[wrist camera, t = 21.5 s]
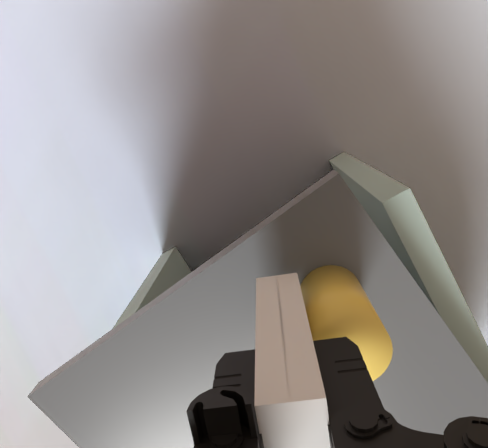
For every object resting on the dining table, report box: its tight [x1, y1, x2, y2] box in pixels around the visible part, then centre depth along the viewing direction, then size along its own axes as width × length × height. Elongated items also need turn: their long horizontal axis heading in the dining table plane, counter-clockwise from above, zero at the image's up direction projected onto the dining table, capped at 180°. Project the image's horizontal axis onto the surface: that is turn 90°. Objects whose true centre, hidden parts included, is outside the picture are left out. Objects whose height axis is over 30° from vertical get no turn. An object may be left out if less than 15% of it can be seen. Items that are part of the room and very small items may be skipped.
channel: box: [113, 152, 488, 383], centre depth 27 cm, size 20×15×14 cm
